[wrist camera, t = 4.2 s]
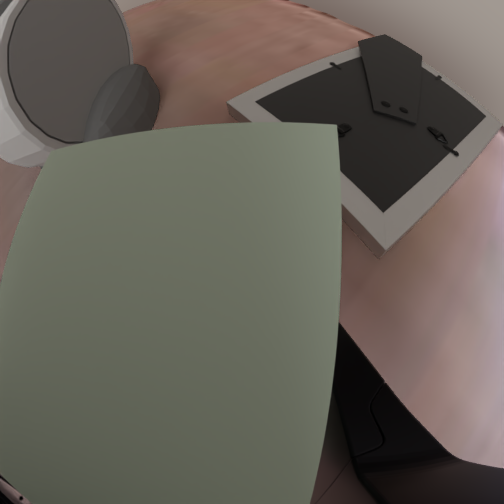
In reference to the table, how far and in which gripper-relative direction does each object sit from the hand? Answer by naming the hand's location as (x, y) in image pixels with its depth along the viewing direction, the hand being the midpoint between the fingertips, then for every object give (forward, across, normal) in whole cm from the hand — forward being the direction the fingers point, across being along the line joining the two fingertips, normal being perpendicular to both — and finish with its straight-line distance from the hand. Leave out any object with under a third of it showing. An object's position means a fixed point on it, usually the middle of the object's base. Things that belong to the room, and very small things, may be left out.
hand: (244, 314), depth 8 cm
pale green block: (+4, 0, +6) cm, 7 cm away
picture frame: (+18, -8, -7) cm, 21 cm away
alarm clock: (+16, +16, -6) cm, 23 cm away
